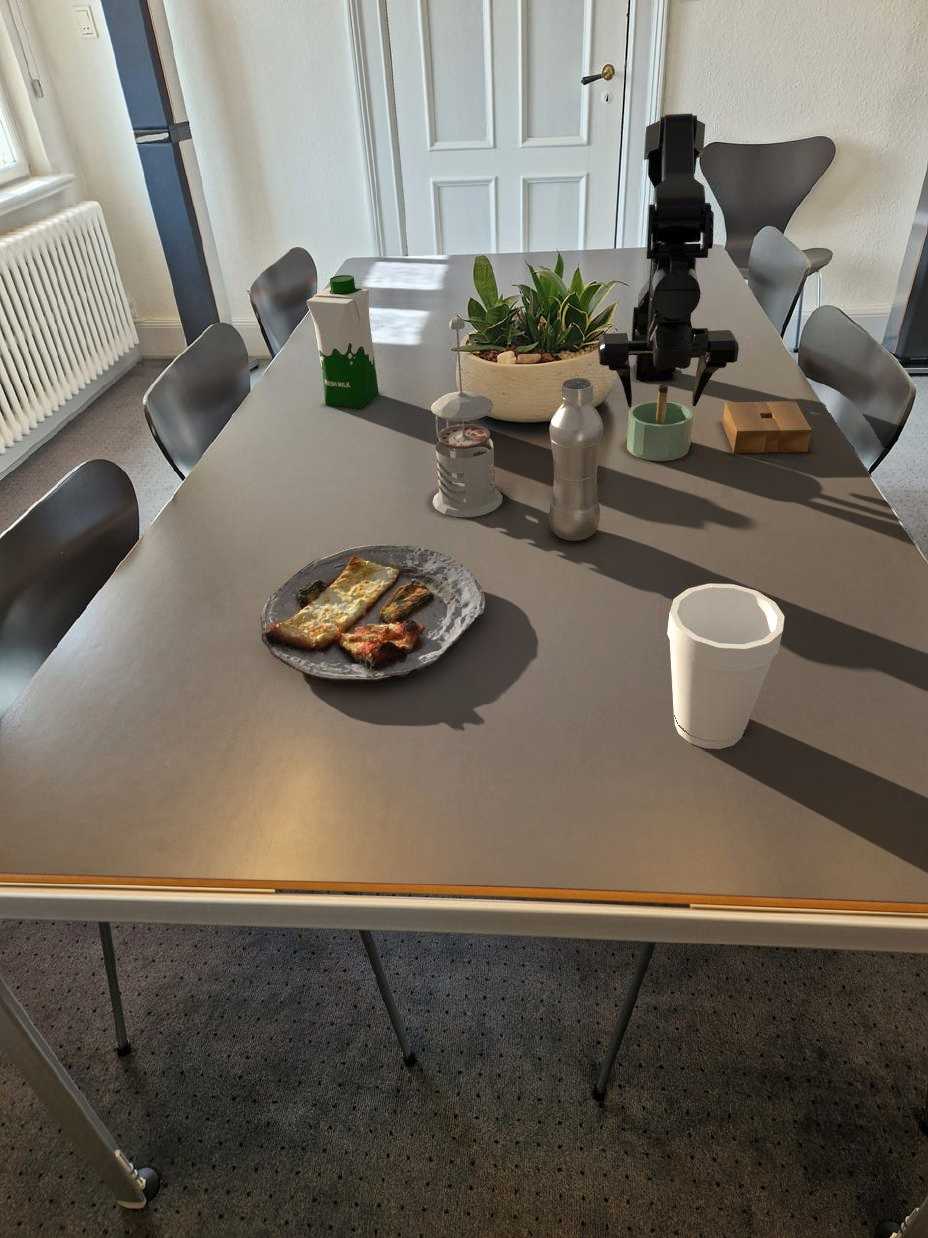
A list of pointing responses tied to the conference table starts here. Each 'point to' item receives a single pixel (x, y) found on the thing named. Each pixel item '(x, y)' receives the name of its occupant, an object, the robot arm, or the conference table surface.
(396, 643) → the food plate
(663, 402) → the tan brown rod
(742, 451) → the stand
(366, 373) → the milk carton
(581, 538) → the silver metal bottle
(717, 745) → the foam cup
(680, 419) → the cup
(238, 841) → the conference table surface
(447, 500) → the french press
